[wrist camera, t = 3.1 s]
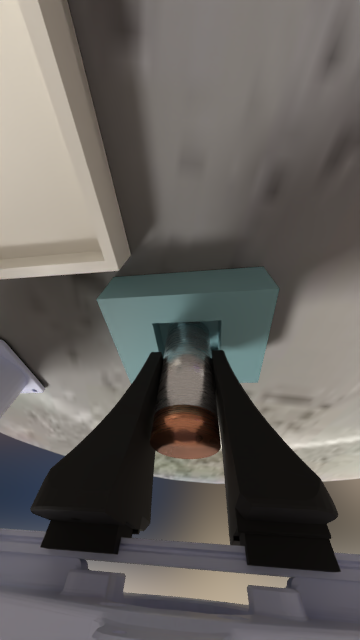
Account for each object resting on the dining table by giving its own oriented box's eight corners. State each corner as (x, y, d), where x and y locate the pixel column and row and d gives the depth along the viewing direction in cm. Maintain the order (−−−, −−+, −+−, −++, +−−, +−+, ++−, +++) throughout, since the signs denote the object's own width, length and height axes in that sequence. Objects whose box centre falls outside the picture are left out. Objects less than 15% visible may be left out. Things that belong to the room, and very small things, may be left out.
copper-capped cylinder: (170, 351, 15) (156, 458, 9) (164, 320, 13) (143, 428, 8) (209, 350, 15) (219, 459, 9) (209, 318, 13) (222, 429, 7)
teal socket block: (139, 356, 18) (131, 383, 16) (113, 276, 14) (96, 299, 11) (249, 353, 17) (257, 382, 15) (263, 266, 12) (279, 288, 10)
